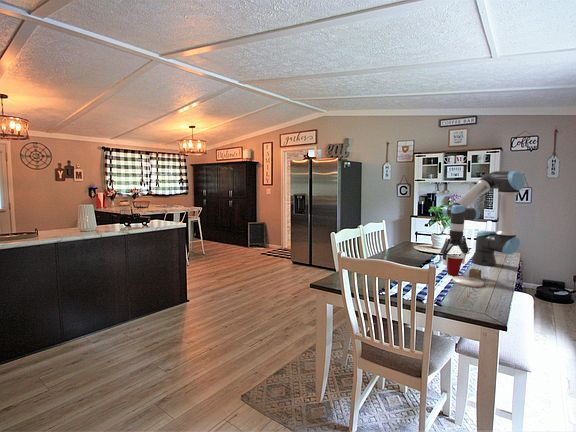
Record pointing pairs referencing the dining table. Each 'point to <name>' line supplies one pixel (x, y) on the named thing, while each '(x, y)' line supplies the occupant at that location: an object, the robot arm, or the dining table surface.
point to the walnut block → (475, 273)
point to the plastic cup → (454, 264)
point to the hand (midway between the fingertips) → (453, 264)
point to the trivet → (468, 281)
